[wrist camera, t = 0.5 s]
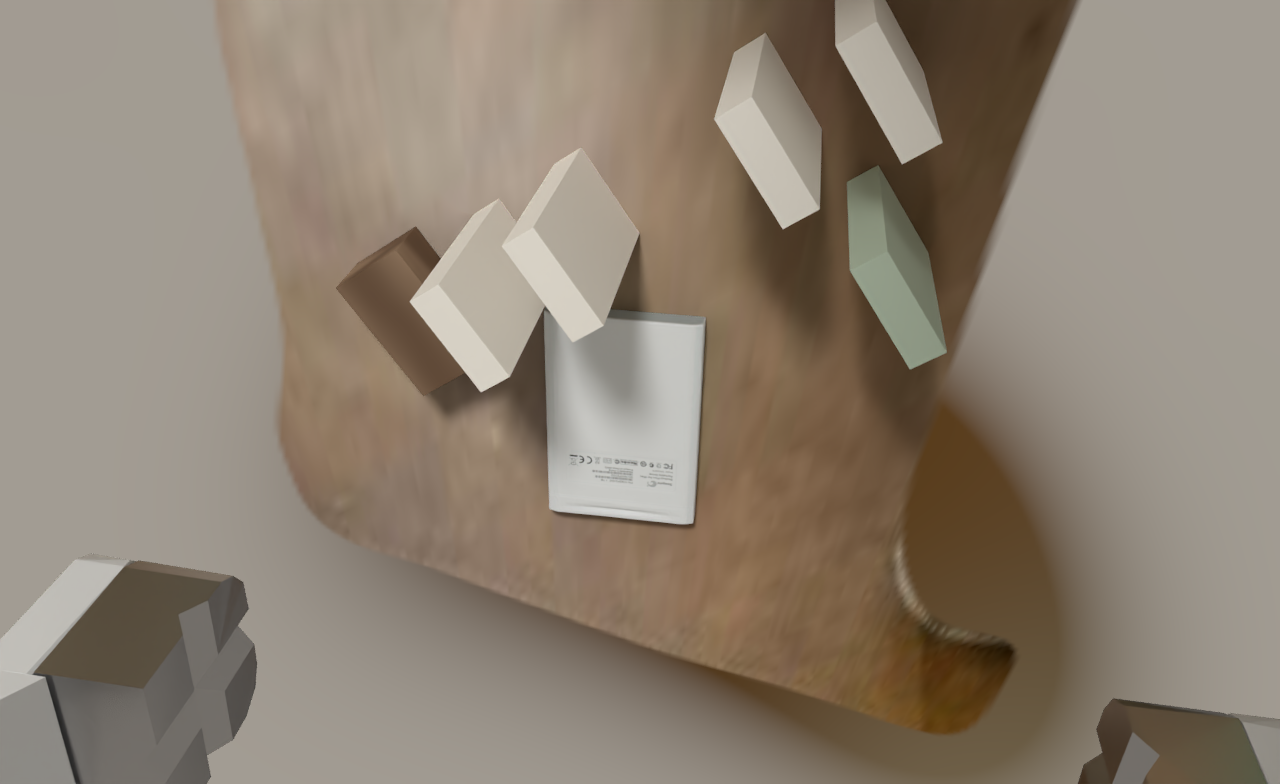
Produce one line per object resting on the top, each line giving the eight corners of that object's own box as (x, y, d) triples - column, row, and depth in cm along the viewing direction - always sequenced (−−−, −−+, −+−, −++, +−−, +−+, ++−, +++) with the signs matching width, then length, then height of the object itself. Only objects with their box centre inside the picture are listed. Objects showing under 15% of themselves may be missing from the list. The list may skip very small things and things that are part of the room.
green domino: (878, 164, 52) (887, 251, 43) (928, 252, 53) (946, 352, 45) (846, 181, 52) (849, 270, 44) (897, 268, 54) (909, 369, 45)
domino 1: (499, 198, 55) (438, 284, 47) (557, 279, 57) (510, 377, 48) (473, 214, 56) (409, 301, 47) (533, 293, 58) (481, 392, 49)
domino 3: (765, 32, 49) (751, 96, 41) (821, 128, 51) (819, 209, 43) (734, 52, 50) (714, 119, 42) (790, 146, 52) (783, 229, 43)
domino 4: (868, -32, 48) (876, 21, 39) (923, 70, 49) (942, 142, 41) (834, -11, 48) (835, 46, 40) (890, 89, 50) (901, 164, 41)
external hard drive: (707, 311, 57) (696, 510, 64) (548, 298, 58) (553, 495, 65) (704, 326, 56) (693, 527, 62) (541, 312, 57) (547, 512, 63)
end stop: (415, 226, 57) (396, 250, 54) (498, 335, 59) (483, 362, 56) (357, 263, 58) (335, 288, 56) (440, 367, 61) (423, 396, 58)
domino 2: (581, 147, 53) (533, 227, 45) (639, 233, 55) (603, 325, 47) (554, 163, 54) (501, 246, 45) (612, 248, 56) (572, 342, 47)
